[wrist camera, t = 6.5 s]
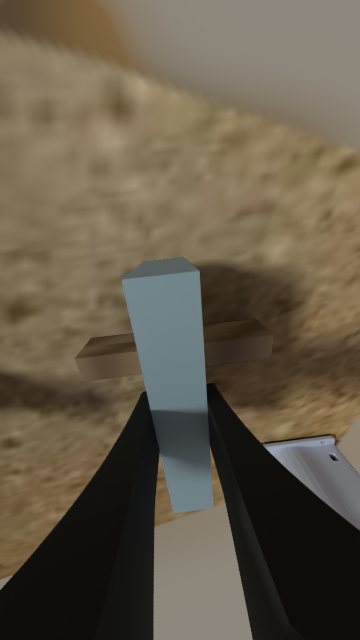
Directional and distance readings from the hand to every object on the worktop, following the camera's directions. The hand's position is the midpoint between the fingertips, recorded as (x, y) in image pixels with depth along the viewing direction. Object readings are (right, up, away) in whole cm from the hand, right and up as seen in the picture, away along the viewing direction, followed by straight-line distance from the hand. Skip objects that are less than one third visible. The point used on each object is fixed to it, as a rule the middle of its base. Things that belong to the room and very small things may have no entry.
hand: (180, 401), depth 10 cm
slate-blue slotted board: (0, +2, +4) cm, 5 cm away
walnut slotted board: (0, +3, +6) cm, 7 cm away
